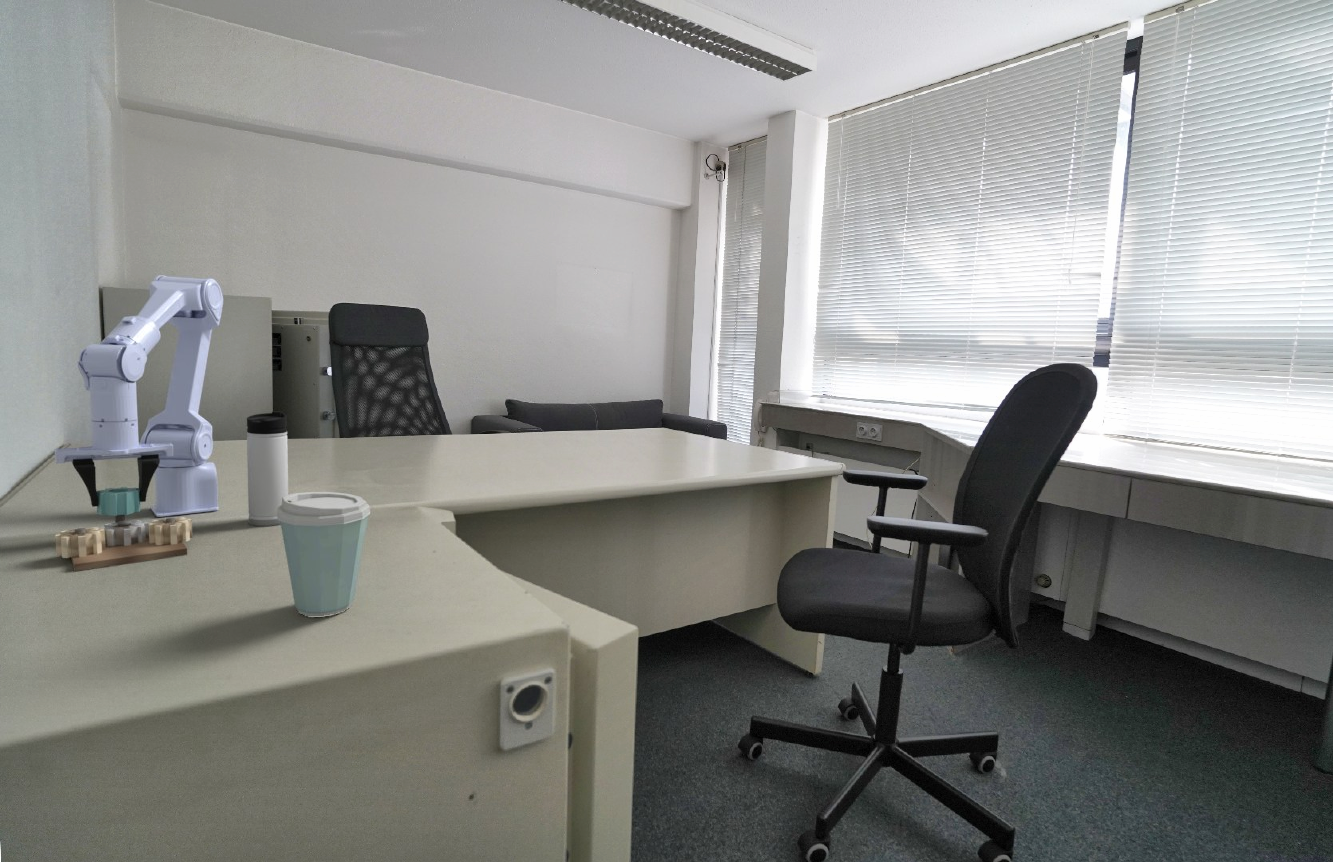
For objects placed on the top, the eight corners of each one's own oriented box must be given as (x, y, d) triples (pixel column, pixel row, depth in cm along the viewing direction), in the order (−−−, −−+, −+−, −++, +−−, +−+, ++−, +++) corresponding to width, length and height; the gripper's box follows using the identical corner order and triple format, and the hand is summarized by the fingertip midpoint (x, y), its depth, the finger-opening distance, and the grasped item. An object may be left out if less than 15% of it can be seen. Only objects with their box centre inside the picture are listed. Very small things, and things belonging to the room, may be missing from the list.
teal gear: (136, 506, 111) (136, 486, 111) (142, 513, 108) (142, 492, 107) (95, 510, 108) (95, 489, 107) (99, 517, 104) (99, 495, 103)
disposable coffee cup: (347, 587, 93) (347, 483, 91) (386, 610, 86) (386, 498, 84) (264, 607, 85) (262, 493, 83) (300, 634, 78) (298, 511, 76)
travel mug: (297, 518, 124) (295, 412, 122) (273, 527, 118) (271, 416, 115) (266, 515, 125) (264, 410, 122) (240, 524, 118) (237, 413, 116)
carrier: (178, 525, 116) (177, 500, 115) (199, 552, 103) (198, 524, 103) (52, 541, 104) (51, 513, 104) (59, 573, 92) (57, 542, 91)
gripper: (54, 425, 98) (59, 514, 100) (175, 421, 108) (178, 502, 110) (52, 419, 103) (57, 504, 104) (167, 416, 113) (170, 493, 115)
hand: (118, 502), depth 107 cm, fingers closed on teal gear, 5 cm apart
